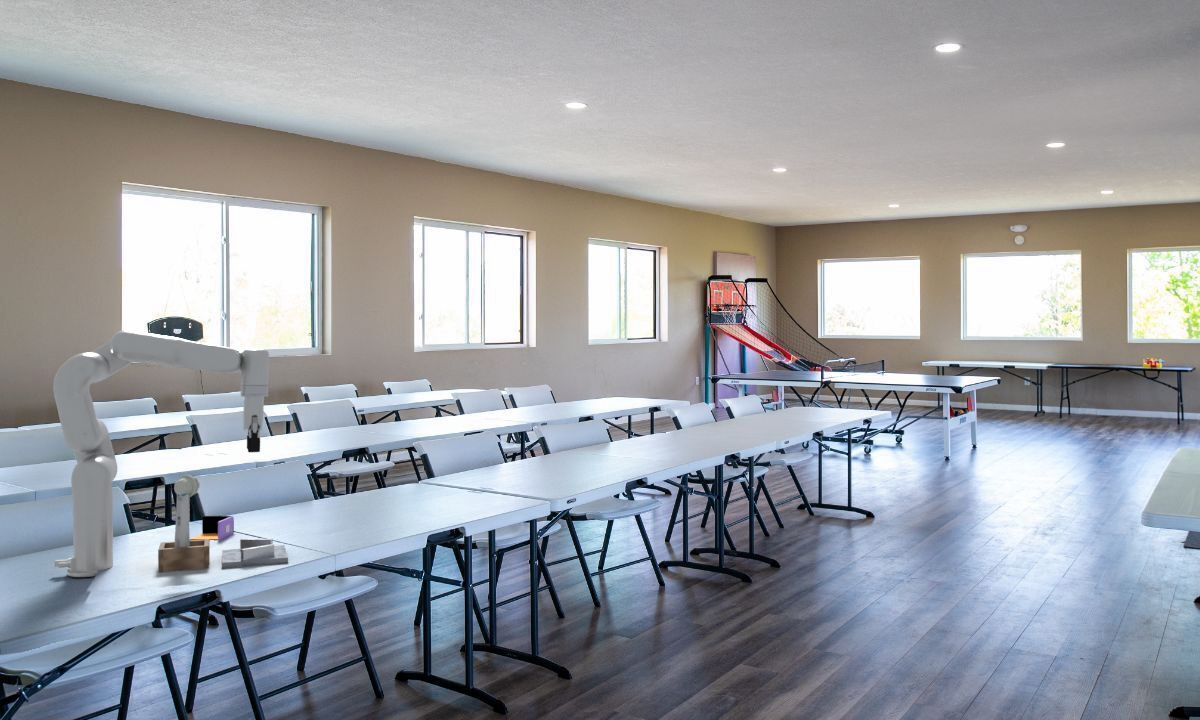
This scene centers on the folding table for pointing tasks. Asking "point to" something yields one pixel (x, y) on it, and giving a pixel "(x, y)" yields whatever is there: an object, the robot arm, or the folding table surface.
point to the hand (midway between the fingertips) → (253, 450)
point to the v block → (254, 554)
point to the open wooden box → (184, 556)
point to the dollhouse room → (216, 527)
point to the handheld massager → (184, 508)
